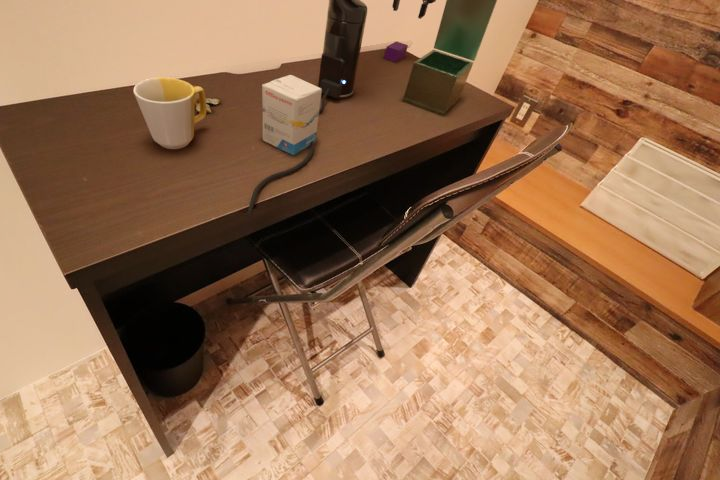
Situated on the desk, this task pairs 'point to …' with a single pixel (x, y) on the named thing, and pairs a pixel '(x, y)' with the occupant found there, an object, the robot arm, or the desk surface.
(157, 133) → the mug
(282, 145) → the ink box
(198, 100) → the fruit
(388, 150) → the desk surface
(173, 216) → the desk surface
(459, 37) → the lid
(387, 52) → the chocolate
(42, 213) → the desk surface
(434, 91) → the bin
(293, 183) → the desk surface
